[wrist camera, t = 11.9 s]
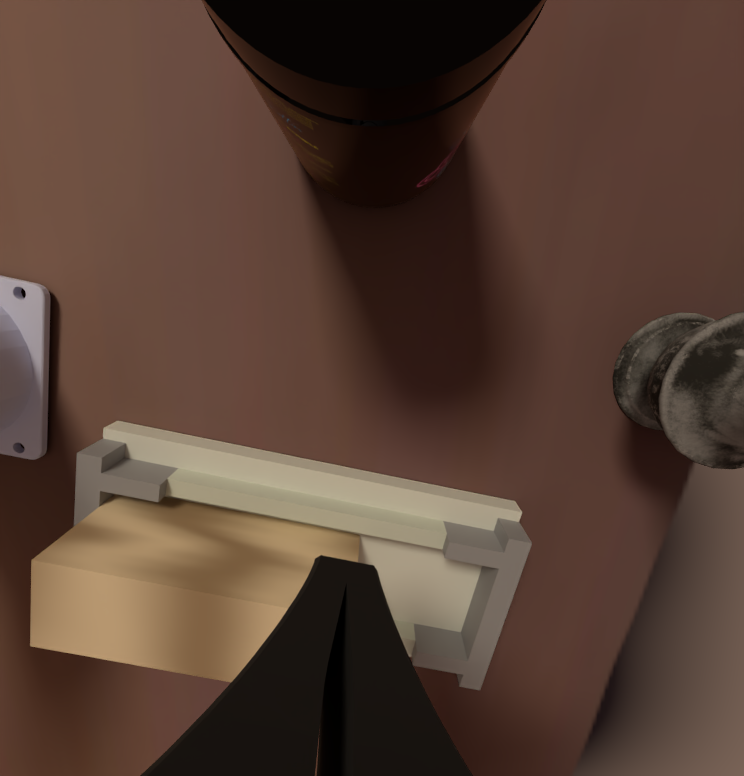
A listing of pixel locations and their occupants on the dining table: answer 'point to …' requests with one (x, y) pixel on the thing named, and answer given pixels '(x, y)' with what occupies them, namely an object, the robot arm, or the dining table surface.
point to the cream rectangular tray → (344, 529)
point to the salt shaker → (688, 384)
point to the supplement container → (374, 81)
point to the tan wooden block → (173, 584)
